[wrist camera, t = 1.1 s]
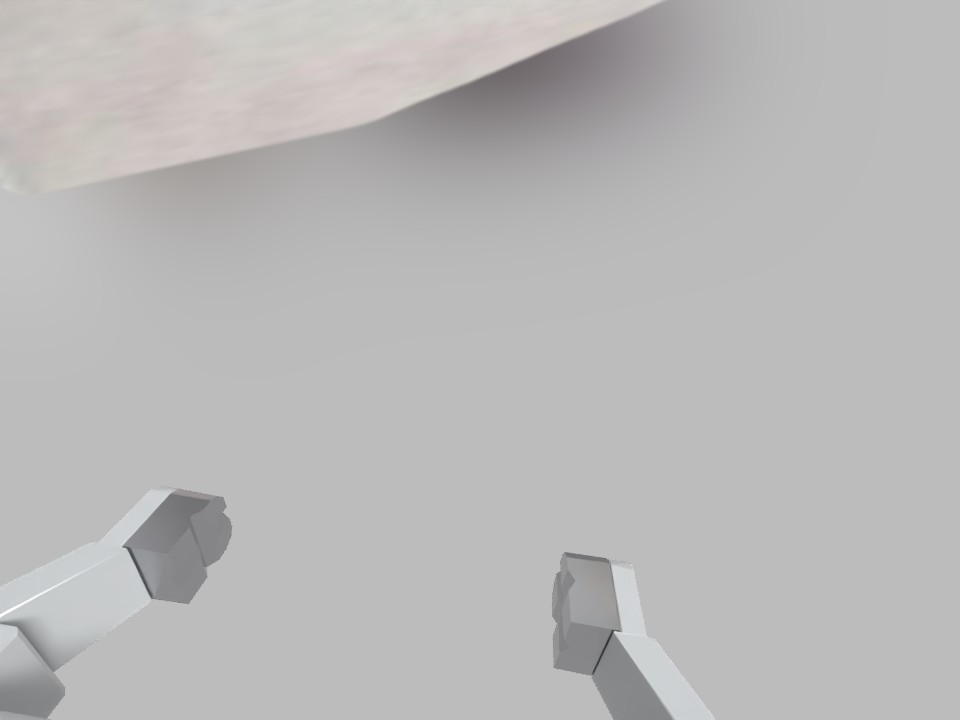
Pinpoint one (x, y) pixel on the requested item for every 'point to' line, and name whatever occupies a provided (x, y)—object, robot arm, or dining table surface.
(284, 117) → the dining table surface
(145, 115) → the dining table surface
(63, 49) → the dining table surface
